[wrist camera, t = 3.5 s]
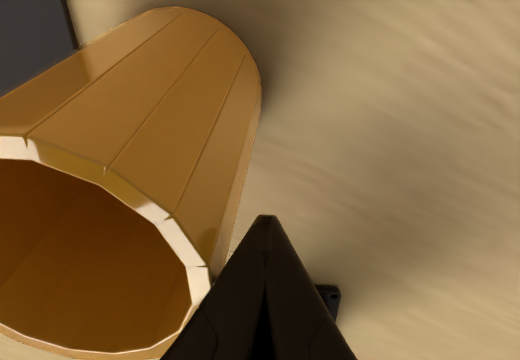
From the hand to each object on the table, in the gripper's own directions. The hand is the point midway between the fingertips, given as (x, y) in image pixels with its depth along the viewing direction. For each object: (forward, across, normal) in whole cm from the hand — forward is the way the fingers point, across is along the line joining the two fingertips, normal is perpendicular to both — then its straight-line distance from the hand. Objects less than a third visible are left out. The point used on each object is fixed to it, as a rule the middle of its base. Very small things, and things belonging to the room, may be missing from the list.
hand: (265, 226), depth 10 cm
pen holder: (+9, +4, 0) cm, 10 cm away
